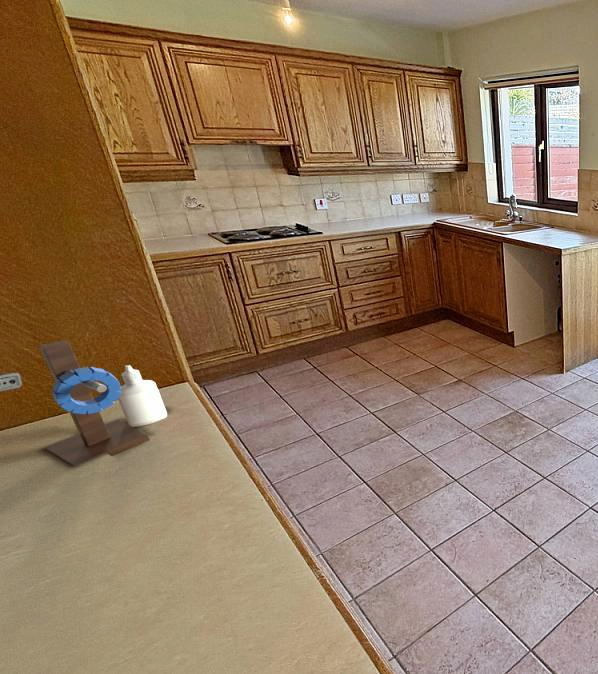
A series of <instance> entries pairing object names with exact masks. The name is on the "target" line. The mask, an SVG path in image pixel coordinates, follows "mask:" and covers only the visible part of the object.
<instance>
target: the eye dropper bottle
mask: <svg viewBox="0 0 598 674" xmlns="http://www.w3.org/2000/svg"><path fill="white" fill-rule="evenodd" d="M124 370H125V371H124V372H122V373H121V375H120V376H121V378H122V380H123V382H124V384H123V385H120V387H121V391H120V392H121V394H120V395H119V397H118V399H117V401H118V402H119V404H120V407H121V409H122V411H123V415H124V417H125V419H126V421H127V424H128V425H130V426H132V427H134V428H137V427H143V426H147V425H150V424H153V423H154V424H155V423H157V422H159V421H162V420H164V419H166V418H167V417H168V411H167V409H166V407H165V404H164V401H163V399H162V396H161V394H160V390H159V388H158V386H157V384H156V382H155V381H153V380H151V379H143V378H142V375H141V373H140V370H139V369H133V367H132V366H131V365H130V364H128V365H125V366H124Z"/></svg>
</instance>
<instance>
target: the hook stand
mask: <svg viewBox="0 0 598 674" xmlns="http://www.w3.org/2000/svg"><path fill="white" fill-rule="evenodd" d="M70 343H71V342H70V341H67V340H65V339H62V340H58V341H55V342H50V343H46V344H43V345H39V346H38V348H39V350H40V352H41V354H42V357H43V359H44V360H45V363H46V365H47V367H48V369H49V371H50V373H51V376H52V378H53V380H54V383H55V382H56V380H57V379H59V380H61V379H60V378H59V377H60V376H62V375H64V374H65V373H67V372H69V371H72V372H73V373H74V371H73V369H78V368H81V367H80V364H79V362H78V360H77V357H76V355H75V353H74V350H73V348H72V345H71V344H70ZM90 389H91V390H93V391H95V392H97V393H102V392H104V391H106V389H107V387H106V386H105V385H104V384H103V383H101V382H99V381H97V380H87V381H82V382H80V383H79V384H77V385H75V386H74V387H73V388H72V390H71V392H70V396H71V398H72V399H74V400H78V401H87V400H91V399H94V398H95V397H94V396H93V393H92V391H91V390H90ZM69 414H70V416H71V419H72V421H73V423H74V425H75V427H76V429H77V431H78V433H79V434H78V435H75V436H73V437H70V438H68V439H64V440H62V441H59V442H56V443H54V444H51V445H49V446H46V447H45V450H47V451H48V452H50V453H51V454H53V455H55V456H57V457H58V458H60V459H62V460H63V461H65V462H66V463H68V464H69V465H71V466H72V467H76V466H78V465H80V464H83V463H85V462H88V461H90V460H92V459H93V460H94V459H95V458H97V457H100V456H102V455H105V454H107V455H109V456H111V457H112V456H115V455H117V454H120V453H123V452H124V451H127V450H129V449H131V448H133V447H136V446H138V445H140V444H143V443H145V442H148V441H150V437H149V434H148V433H146V432H144V431H141V430H139V428H137V427H132V426H130V425H129V424H128V423H126V422H124V421H122V420H120V419H117V420H114V421H111V422H109V423H105V421H104V418H103V417H102V414H101V411H100V412H96V413H92V414H87V412H86V414H76V413H71V411H70V412H69Z"/></svg>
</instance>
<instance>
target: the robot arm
mask: <svg viewBox="0 0 598 674" xmlns="http://www.w3.org/2000/svg"><path fill="white" fill-rule="evenodd" d="M22 386H23V381H22V377H21V374H20V373H18V372H9V373H3V374H0V392H5V391H10V390H15V389H20V388H21V387H22Z"/></svg>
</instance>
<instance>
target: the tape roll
mask: <svg viewBox="0 0 598 674" xmlns="http://www.w3.org/2000/svg"><path fill="white" fill-rule="evenodd" d="M73 371H74V373H73V372H72V371H69V372H67V373H65V374H64V375H62V376H60V377H59V378H60V379H61V380H59V379H57V380H56V382H55V381H54V384H53V386H52V387H51V389H52V390H51V394H52V397H53V400H54V401H55V402H56V404H57V405H58V407H60V408H61V409H64V410H65V411H66V412H68V413H70V411H71V413H76V414H86V412H87V414H92V413H96V412H100V413H101V412H102V411H105V410H106V409H108V408H110V407H111V406H113V405H114V404H115V402H117V401H118V397H119V395H120V394H121V392H120V391H121V382H120V381H119V380H118V378H116V377H115V376H114V375H113V374H112V373H110V372H109V371H108V370H106V369H103V368H99V367H95V366H90V367H88V366H84V367H80V368H78V369H73ZM87 380H94V381H96V382H100V383H102V384H103V385H105V386H106V387H107V389H106V391H104V392H100V394H99V395H97V396H96V397H93V398H94V399H91V400H87V401H78V400H74V399H72V398H71V396H70V392H71V390H72V388H73V387H74V386H75V385H77V384H79V383H80V382H82V381H87Z"/></svg>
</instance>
